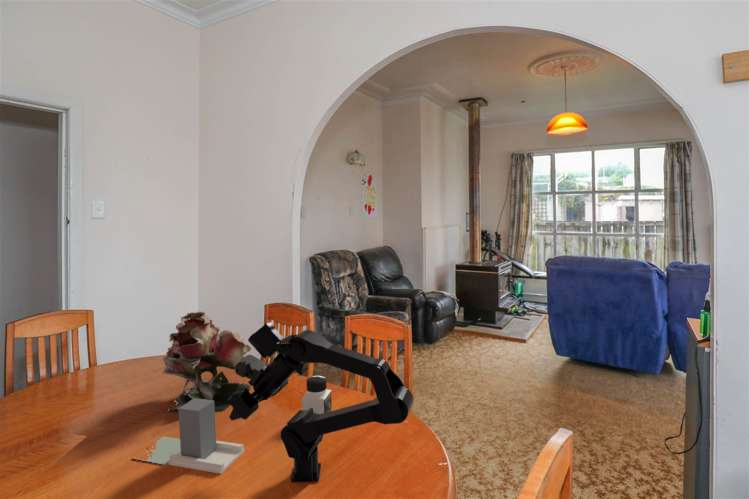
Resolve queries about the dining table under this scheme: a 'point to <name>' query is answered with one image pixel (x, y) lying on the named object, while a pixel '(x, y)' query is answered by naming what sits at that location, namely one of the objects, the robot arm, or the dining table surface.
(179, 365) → the rose bouquet
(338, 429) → the robot arm
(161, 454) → the sage mat
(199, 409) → the gray block
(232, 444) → the off-white chute
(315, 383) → the medicine bottle
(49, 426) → the dining table surface
